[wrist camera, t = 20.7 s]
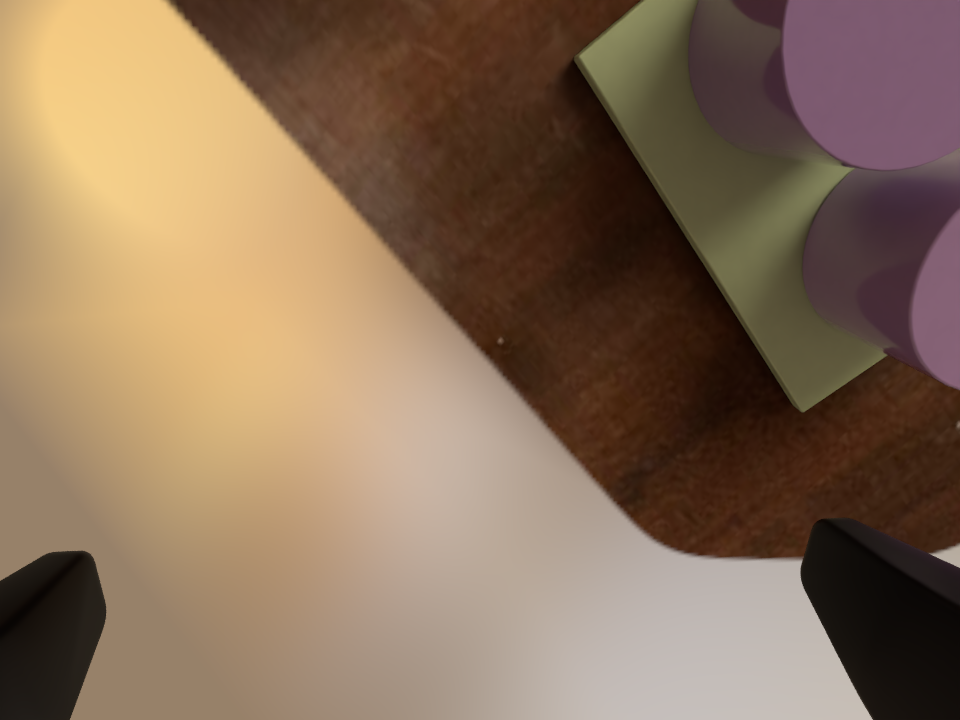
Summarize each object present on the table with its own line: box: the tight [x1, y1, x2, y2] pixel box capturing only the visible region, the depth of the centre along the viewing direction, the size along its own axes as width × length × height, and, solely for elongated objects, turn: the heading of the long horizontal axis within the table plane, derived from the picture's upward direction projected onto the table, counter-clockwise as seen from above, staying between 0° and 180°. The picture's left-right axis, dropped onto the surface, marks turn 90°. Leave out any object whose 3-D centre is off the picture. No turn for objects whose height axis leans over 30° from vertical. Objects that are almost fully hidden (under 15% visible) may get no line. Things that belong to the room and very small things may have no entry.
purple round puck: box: [688, 0, 960, 171], centre depth 14 cm, size 6×6×4 cm
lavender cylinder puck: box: [802, 148, 960, 390], centre depth 17 cm, size 6×6×4 cm
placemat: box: [574, 0, 887, 412], centre depth 18 cm, size 14×10×1 cm
